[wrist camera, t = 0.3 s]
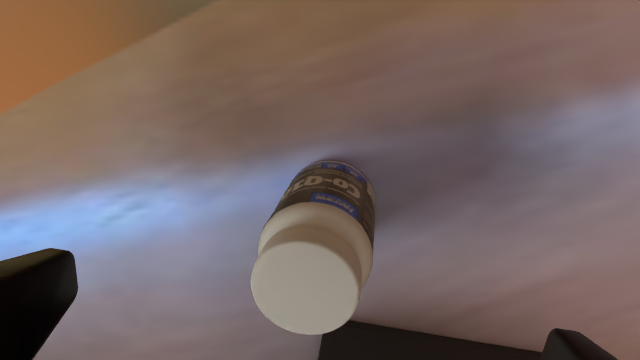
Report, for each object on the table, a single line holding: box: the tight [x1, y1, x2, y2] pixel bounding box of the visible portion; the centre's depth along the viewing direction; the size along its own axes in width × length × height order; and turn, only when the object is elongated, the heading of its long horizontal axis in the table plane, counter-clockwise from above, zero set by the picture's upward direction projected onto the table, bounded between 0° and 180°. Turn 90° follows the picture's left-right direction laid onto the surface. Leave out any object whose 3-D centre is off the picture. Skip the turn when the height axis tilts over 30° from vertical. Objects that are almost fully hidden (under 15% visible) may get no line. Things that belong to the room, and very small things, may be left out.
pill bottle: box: [251, 161, 375, 335], centre depth 19 cm, size 5×5×8 cm
